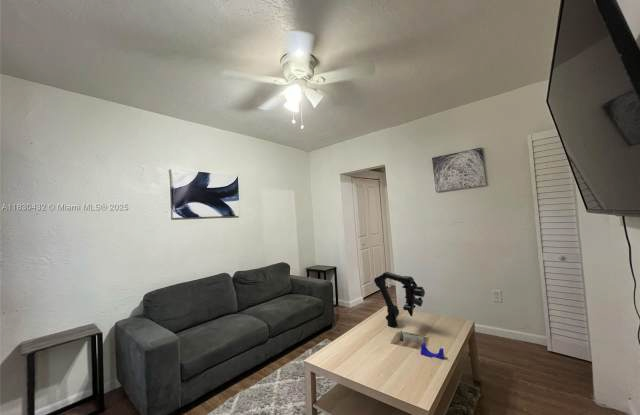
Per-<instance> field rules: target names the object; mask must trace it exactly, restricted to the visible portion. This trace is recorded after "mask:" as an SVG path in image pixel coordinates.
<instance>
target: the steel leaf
mask: <svg viewBox="0 0 640 415" xmlns="http://www.w3.org/2000/svg"><path fill="white" fill-rule="evenodd" d="M398 332H399V333H400V341H405V342H410V343H415V344H420V345H422V343H424V341H423V337H422V336H417V335H411V334H405V333H403V332H404V331H403V330H399V331H398Z"/></svg>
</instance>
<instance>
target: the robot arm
mask: <svg viewBox="0 0 640 415" xmlns="http://www.w3.org/2000/svg"><path fill="white" fill-rule="evenodd" d="M389 279H390V280H391V281H392V280H393V281H396V282H399V283H401V284H402V285H403V286H401V288H402V289H404V292H405V296H404V298H405V304H404V305H403V306H402V307H403V308H402V309H403V310H404V311H407V312H408V314H409V316H410V317H413V315H414V309H415V308H416V307H417V306H418V307H420V308H421V307H422V305H423V302H424V300H423V298H424V297H425V295H426V294H425V293H426V291H425V289H424V287H423V286H418V284H417V283H416V281H415V279H414V278H413V277H412V276H406V275H404V276H403V275H400V274H396V273H392V272H388V271H385V272H383V273H382V274H380V275H379V276H376V277H375V278H374V280H373V281H374V284H375V285H376V287H377V288H378V289H379V290H380V293H381V295H382V299H383V300H384V301H385V305H386V306H387V307H386V308H387V310H386V311H387V315H386V316H385V320H387V327H389V328H398V325H399V324H398V320H397V318H398V316H399V315H400V310H399V308H398V306H397V305H394V302H393V301H392V298H391V296H390V294H389V293H390V292H388V289H387V287H386V280H389ZM417 297H418V298H417Z"/></svg>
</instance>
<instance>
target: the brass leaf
mask: <svg viewBox="0 0 640 415" xmlns="http://www.w3.org/2000/svg"><path fill="white" fill-rule="evenodd" d="M402 332H403V333H405V334H411V335H417V336H422V337H423V341H424V337H425V336H424V334H418V333H412V332H407V331H402Z"/></svg>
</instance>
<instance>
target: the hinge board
mask: <svg viewBox="0 0 640 415" xmlns="http://www.w3.org/2000/svg"><path fill="white" fill-rule="evenodd" d="M429 339H430V337H427V336H424V344H425V345H426V347H428V342H429ZM389 344H391V345H395V346H400V347H405V348H410V349H416V350H419V351H421V345H420V344H415V343H410V342H405V341H400V333H399V331H398V332H396V333H395V335H394V337H393V338H392V339H391V341H390V342H389Z"/></svg>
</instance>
